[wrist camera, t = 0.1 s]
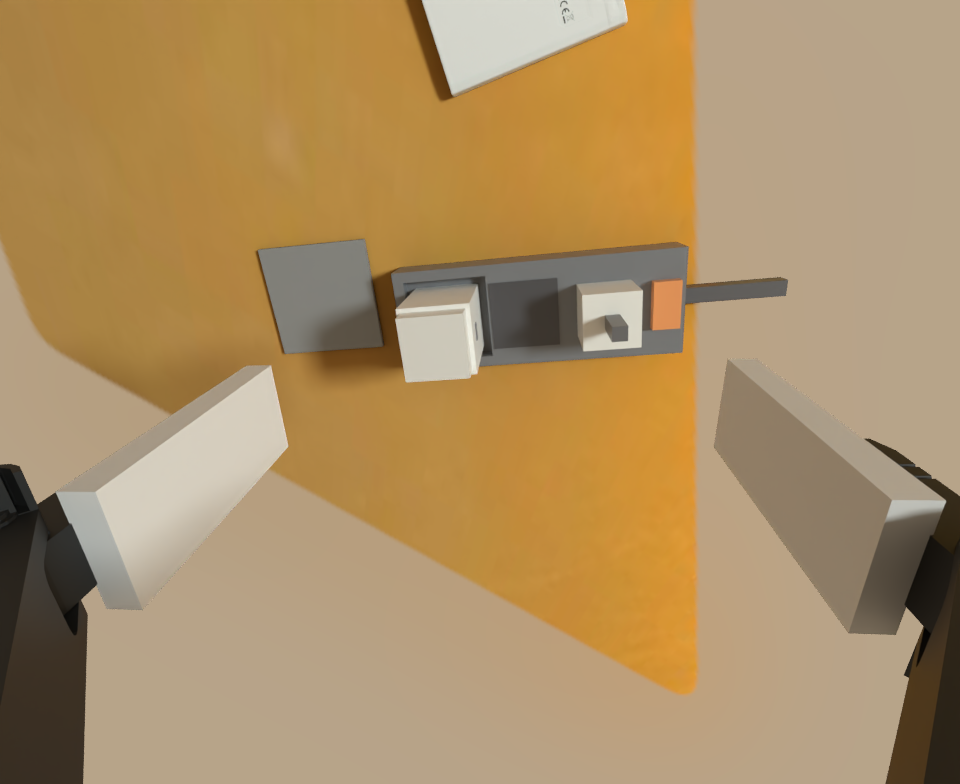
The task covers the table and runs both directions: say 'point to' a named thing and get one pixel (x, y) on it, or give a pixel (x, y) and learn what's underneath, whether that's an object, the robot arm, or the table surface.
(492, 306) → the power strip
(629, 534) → the table surface
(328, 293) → the mat
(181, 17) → the table surface
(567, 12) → the external hard drive
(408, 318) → the block
